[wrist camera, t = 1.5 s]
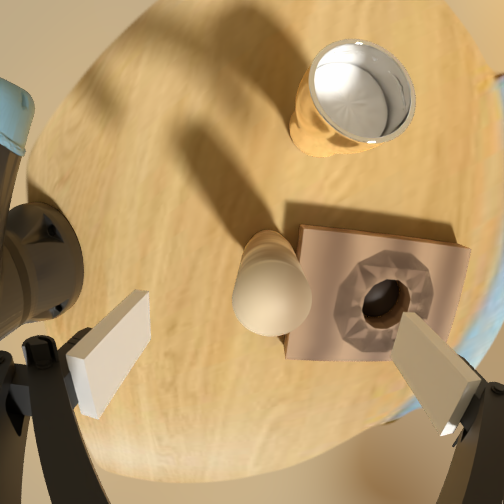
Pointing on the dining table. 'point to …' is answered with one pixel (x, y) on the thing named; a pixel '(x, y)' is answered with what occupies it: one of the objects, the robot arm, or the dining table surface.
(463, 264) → the board
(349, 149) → the metal cup
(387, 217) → the dining table surface
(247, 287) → the peg
